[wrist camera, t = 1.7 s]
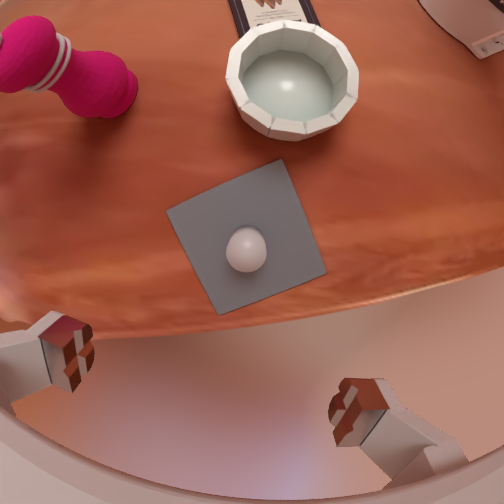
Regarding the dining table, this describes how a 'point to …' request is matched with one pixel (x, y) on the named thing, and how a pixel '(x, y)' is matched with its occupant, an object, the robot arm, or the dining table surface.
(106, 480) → the robot arm
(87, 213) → the dining table surface
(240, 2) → the chocolate bar
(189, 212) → the lid
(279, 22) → the bowl
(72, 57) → the pepper mill
